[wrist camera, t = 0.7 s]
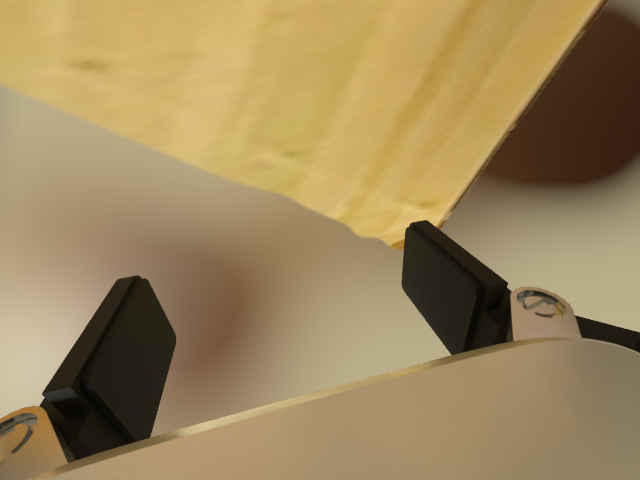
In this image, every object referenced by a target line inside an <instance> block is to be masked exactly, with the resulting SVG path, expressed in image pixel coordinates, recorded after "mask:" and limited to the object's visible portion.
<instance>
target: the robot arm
mask: <svg viewBox="0 0 640 480" xmlns="http://www.w3.org/2000/svg"><path fill="white" fill-rule="evenodd" d="M507 285H508V283H507V282H506V281H505V280H503V279H502V278H501V277H500V276H498V275H497V274H496V273H495V272H493V271H492V270H491V269H489V268H488V267H487V266H485V265H484V264H483V263H482V262H480V261H479V260H478V259H476V258H475V257H474V256H473V255H471V254H470V253H469V252H467V251H466V250H465V249H463V248H462V247H461V246H460V245H458V244H457V243H456V242H454V241H453V240H452V239H450V238H449V237H448V236H447V235H445V234H444V233H443V232H442V231H440V230H439V229H438V228H436V227H435V226H434V225H432V224H431V223H430V222H429V221H427V220H424V221H418V222H413V223H411V224H410V226H409V227H407V228H406V231H405V244H404V257H403V271H402V287H403V290H404V292H405V293H406V294H407V296H408V297H409V298H410V300H411V301H412V302H413V304H414V305H415V306H416V308H417V309H418V310H419V312H420V313H421V314H422V316H423V317H424V318H425V320H426V321H427V322H428V324H429V325H430V327H431V328H432V329H433V331H434V332H435V333H436V335H437V336H438V337H439V338H440V340H441V341H442V343H443V344H444V345H445V347H446V348H447V349H448V351H449V352H450V353H451V355H452V356H448V357H444V358H440V359H436V360H432V361H429V362H425V363H421V364H418V365H414V366H410V367H407V368H403V369H399V370H395V371H392V372H388V373H384V374H380V375H376V376H372V377H369V378H365V379H361V380H357V381H354V382H350V383H346V384H343V385H339V386H335V387H332V388H328V389H324V390H321V391H317V392H313V393H309V394H306V395H302V396H298V397H295V398H291V399H288V400H284V401H280V402H276V403H273V404H269V405H266V406H262V407H258V408H255V409H251V410H247V411H244V412H240V413H237V414H233V415H229V416H226V417H222V418H219V419H215V420H211V421H208V422H204V423H201V424H197V425H194V426H190V427H186V428H183V429H179V430H176V431H172V432H168V433H165V434H161V435H158V436H155V437H151V438H150V436H151V433H152V429H153V425H154V421H155V418H156V414H157V411H158V407H159V403H160V400H161V396H162V393H163V389H164V385H165V382H166V378H167V374H168V370H169V367H170V363H171V360H172V356H173V352H174V349H175V345H176V335H175V333H174V331H173V328H172V326H171V324H170V323H169V321H168V319H167V317H166V315H165V313H164V311H163V309H162V307H161V305H160V303H159V301H158V299H157V297H156V295H155V293H154V291H153V289H152V288H151V286H150V283H149V281H148V280H147V279H142V278H141V277H140V276H132V277H126V278H121V279H118V280H117V281H116V282H115V284H114V285H113V287H112V288H111V290H110V291H109V293H108V294H107V296H106V297H105V299H104V300H103V302H102V303H101V305H100V306H99V308H98V310H97V311H96V313H95V314H94V316H93V317H92V319H91V320H90V322H89V323H88V325H87V326H86V328H85V329H84V331H83V332H82V334H81V335H80V337H79V338H78V340H77V341H76V343H75V344H74V346H73V347H72V349H71V351H70V352H69V353H68V355H67V357H66V358H65V360H64V361H63V363H62V364H61V366H60V367H59V369H58V370H57V372H56V373H55V375H54V376H53V378H52V379H51V381H50V382H49V384H48V385H47V387H46V388H45V390H44V391H43V393H42V395H43V396H44V397H45V398H44V400H43V401H42V403H41V404H40V406H39V407H38V406H31V407H25V408H22V409H19V410H17V411H14V412H12V413H10V414H8V415H6V416H5V417H3V418H1V419H0V480H640V333H639V332H636V331H632V330H628V329H624V328H621V327H616V326H613V325H609V324H605V323H601V322H598V321H594V320H590V319H586V318H583V317H579V316H575V315H574V311H573V309H572V308H571V306H570V304H569V303H568V302H566V301H565V300H564V299H563V298H561V297H560V296H558V295H556V294H554V293H552V292H550V291H548V290H544V289H541V288H536V287H520V288H517V289H515V290H513V291H510V290H509V289H508V288H507Z"/></svg>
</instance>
